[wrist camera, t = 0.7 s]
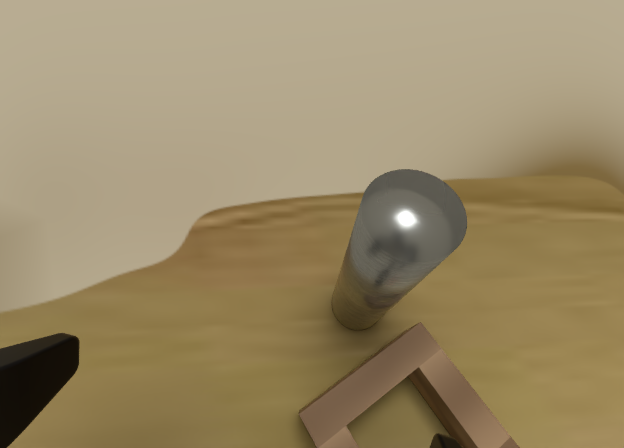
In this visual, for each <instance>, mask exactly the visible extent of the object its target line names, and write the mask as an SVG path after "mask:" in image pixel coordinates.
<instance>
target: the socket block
mask: <svg viewBox="0 0 624 448" xmlns="http://www.w3.org/2000/svg"><path fill="white" fill-rule="evenodd" d="M407 376H408V377H409V378H410V379H411V381H412V382H413V384H414V385H415V386H416V388H417V389H418V391H419V392H420V393H421V395H422V396H423V398H424V399H425V400H426V402H427V403H428V405H429V406H430V407H431V409H432V410H433V412H434V413H435V414H436V416H437V417H438V419H439V420H440V421H441V423H442V424H443V426H444V427H445V428H446V430H447V431H448V433H449V434H450V435H451V437H453V438H455V439H456V440H457V441H458V442H459V444H460V445H461V446H462V447H463V448H519V446H518V445H517V444H516V443H515V441H514V440H513V439H512V438H511V436H510V435H509V434H508V432H507V431H506V430H505V429H504V427H503V426H502V425H501V424H500V422H499V421H498V420H497V418H496V417H495V416H494V415H493V413H492V412H491V411H490V410H489V408H488V407H487V406H486V404H485V403H484V402H483V401H482V399H481V398H480V397H479V396H478V394H477V393H476V392H475V390H474V389H473V388H472V387H471V385H470V384H469V383H468V382H467V380H466V379H465V378H464V376H463V375H462V374H461V373H460V371H459V370H458V369H457V368H456V366H455V365H454V364H453V362H452V361H451V360H450V359H449V357H448V356H447V355H446V354H445V352H444V351H443V350H442V348H441V347H440V346H439V345H438V343H437V342H436V341H435V340H434V338H433V337H432V336H431V334H430V333H429V332H428V331H427V329H426V328H425V327H424V326H423V324H422V323H421V322H420V323H418V324H416V325H415V326H413V327H411V328H409V329H408V330H406V331H405V332H403V333H402V334H401V335H399V336H398V337H397V338H395V339H394V340H393V341H391V342H390V343H389V344H387V345H386V346H385V347H383V348H382V349H381V350H379V351H378V352H377V353H375V354H374V355H373V356H371V357H370V358H369V359H367V360H366V361H365V362H364V363H362V364H361V365H360V366H358V367H357V368H356V369H354V370H353V371H352V372H350V373H349V374H348V375H346V376H345V377H344V378H342V379H341V380H340V381H338V382H337V383H336V384H334V385H333V386H332V387H330V388H329V389H328V390H326V391H325V392H324V393H322V394H321V395H320V396H318V397H317V398H316V399H314V400H313V401H312V402H310V403H309V404H308V405H306V406H305V407H304V408H302V409H301V410H300V411H299V415H300V417H301V419H302V421H303V423H304V425H305V426H306V428H307V430H308V432H309V434H310V436H311V437H312V439H313V441H314V443H315V445H316V447H317V448H359V447H358V445H357V443H356V442H355V440H354V438H353V437H352V435H351V433H350V432H349V430H348V428H347V427H346V425H347V424H349V423H350V422H351V421H352V420H354V419H355V418H356V417H357V416H359V415H360V414H361V413H362V412H364V411H365V410H366V409H367V408H369V407H370V406H371V405H372V404H374V403H375V402H376V401H377V400H378V399H380V398H381V397H382V396H383V395H385V394H386V393H387V392H388V391H390V390H391V389H392V388H393V387H395V386H396V385H397V384H398V383H400V382H401V381H402V380H403V379H405V378H406V377H407Z"/></svg>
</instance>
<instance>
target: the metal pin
mask: <svg viewBox="0 0 624 448" xmlns="http://www.w3.org/2000/svg"><path fill="white" fill-rule="evenodd" d="M466 229H467V216H466V212H465V208H464V206H463V204H462V202H461V200H460V198H459V197H458V195H457V194H456V193H455V192H454V191H453V189H452V188H451V187H449V186H448V185H447V184H446V183H445V182H443V181H442V180H440V179H438V178H437V177H435V176H433V175H430V174H428V173H425V172H422V171H417V170H410V169H402V170H395V171H390V172H387V173H385V174H383V175H381V176H379V177H377V178H376V179H375V180H374V181H373V182H371V184H370V185H369V186H368V187H367V189H366V191H365V193H364V195H363V198H362V201H361V204H360V208H359V211H358V214H357V217H356V221H355V224H354V227H353V231H352V234H351V237H350V241H349V244H348V247H347V250H346V254H345V257H344V260H343V264H342V267H341V270H340V274H339V277H338V280H337V283H336V287H335V290H334V293H333V297H332V310H333V313H334V315H335V317H336V318H337V320H338V321H339V322H340V323H341V324H342V325H344V326H345V327H347V328H350V329H353V330H363V329H367V328H369V327H371V326H372V325H374V324H375V323H376V322H377V321H378V320H379V319H380V318H381V317H382V316H383V315H385V314H386V313H387V312H388V311H389V310H390V309H391V308H392V307H393V306H394V305H395V304H396V303H398V302H399V301H400V300H401V299H402V298H403V297H404V296H405V295H406V294H407V293H408V292H410V291H411V290H412V289H413V288H414V287H415V286H416V285H417V284H418V283H419V282H420V281H422V280H423V279H424V278H425V277H426V276H427V275H428V274H429V273H430V272H431V271H432V270H433V269H435V268H436V267H437V266H438V265H439V264H440V263H441V262H442V261H443V260H444V259H445V258H447V257H448V256H449V255H450V254H451V253H452V252H453V251H454V250H455V249H456V248H457V247H458V246H459V245H460V244H461V242H462V240H463V238H464V236H465V233H466Z"/></svg>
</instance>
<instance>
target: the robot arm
mask: <svg viewBox="0 0 624 448" xmlns="http://www.w3.org/2000/svg"><path fill="white" fill-rule="evenodd" d="M78 365H79V339H78V337H76V336H73V335H69V334H66V333H58V334H54V335H51V336H47V337H43V338H39V339H35V340H32V341H28V342H24V343H20V344H16V345H13V346H9V347H5V348H1V349H0V448H7V447H8V446H9V445H10V444H11V443H12V442H13V441H14V440H15V439H16V438H17V437H18V436H19V435H20V434H21V433H22V432H23V431H24V430H25V429H26V428H27V426H28V425H29V424H30V423H31V422H32V421H33V420H34V419H35V418H36V417H37V415H38V414H39V413H40V412H41V411H42V410H43V409H44V408H45V406H46V405H47V404H48V403H49V402H50V401H51V400H52V399H53V397H54V396H55V395H56V394H57V393H58V392H59V391H60V390H61V389H62V387H63V386H64V385H65V384H66V383H67V382H68V381H69V380H70V378H71V377H72V376H73V375H74V374H75V372H76V370H77V368H78ZM430 448H463V447H462V446H461V445H460V444H459V442H458V441H457V440H456V439H455V438H453V437H450V436H446V435H443V434H435V436H434V437H433V440H432V443H431V446H430Z"/></svg>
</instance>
